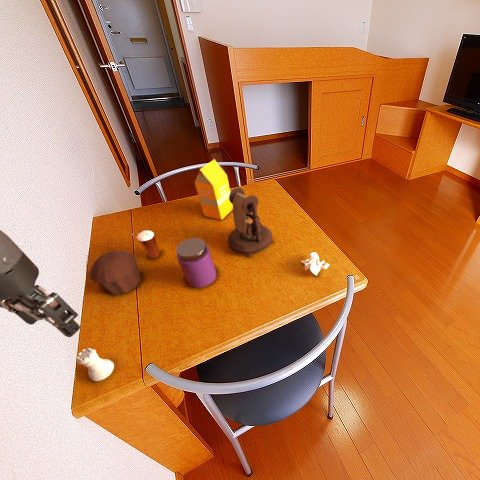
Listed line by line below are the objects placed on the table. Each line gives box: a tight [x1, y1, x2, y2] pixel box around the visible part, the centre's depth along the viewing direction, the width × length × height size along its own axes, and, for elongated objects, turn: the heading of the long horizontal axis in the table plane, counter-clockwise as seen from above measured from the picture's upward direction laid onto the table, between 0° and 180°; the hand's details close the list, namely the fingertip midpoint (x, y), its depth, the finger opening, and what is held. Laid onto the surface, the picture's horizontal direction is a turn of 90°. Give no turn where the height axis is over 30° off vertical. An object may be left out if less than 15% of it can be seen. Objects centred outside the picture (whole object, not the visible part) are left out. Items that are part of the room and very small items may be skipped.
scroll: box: [227, 187, 273, 257], centre depth 88 cm, size 15×15×20 cm
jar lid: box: [175, 237, 207, 261], centre depth 75 cm, size 8×8×2 cm
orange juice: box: [194, 158, 233, 221], centre depth 101 cm, size 8×9×20 cm
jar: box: [176, 244, 218, 289], centre depth 79 cm, size 8×8×12 cm
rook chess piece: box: [76, 347, 115, 382], centre depth 58 cm, size 4×4×8 cm
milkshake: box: [130, 230, 161, 259], centre depth 85 cm, size 4×5×10 cm
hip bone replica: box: [300, 251, 330, 276], centre depth 85 cm, size 8×4×7 cm
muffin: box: [88, 250, 142, 296], centre depth 76 cm, size 12×11×10 cm
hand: (55, 326), depth 49 cm, fingers open, 8 cm apart
